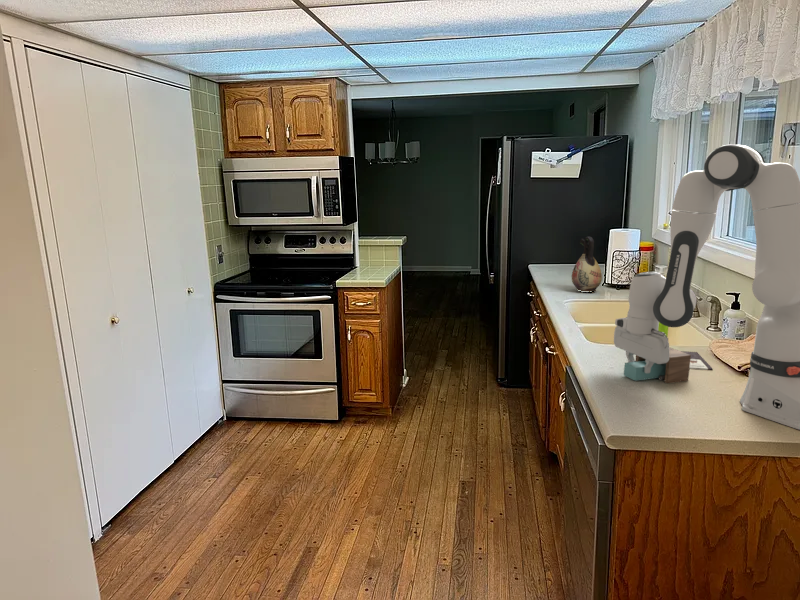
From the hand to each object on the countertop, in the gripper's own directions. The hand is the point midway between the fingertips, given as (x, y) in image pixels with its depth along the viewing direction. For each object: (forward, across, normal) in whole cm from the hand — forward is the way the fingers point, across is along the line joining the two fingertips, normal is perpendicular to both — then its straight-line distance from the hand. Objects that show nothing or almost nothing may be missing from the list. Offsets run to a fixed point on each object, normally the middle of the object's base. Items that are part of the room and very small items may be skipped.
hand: (638, 369), depth 174 cm
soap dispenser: (+3, +25, -30) cm, 40 cm away
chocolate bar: (+3, +8, -28) cm, 29 cm away
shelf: (+3, 0, -9) cm, 9 cm away
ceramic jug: (+3, +119, -67) cm, 137 cm away
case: (+2, 0, -4) cm, 4 cm away
